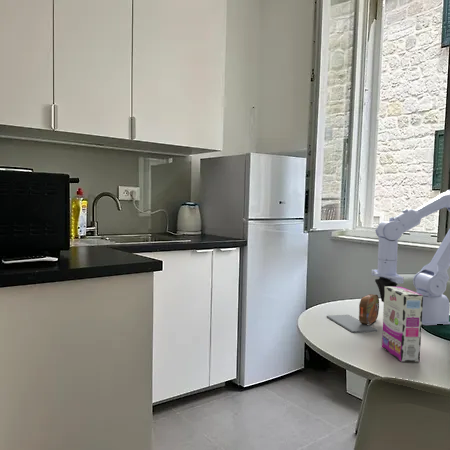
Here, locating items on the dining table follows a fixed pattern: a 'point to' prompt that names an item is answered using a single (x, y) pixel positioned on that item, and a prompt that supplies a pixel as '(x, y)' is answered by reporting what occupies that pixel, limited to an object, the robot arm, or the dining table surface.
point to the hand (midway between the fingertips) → (385, 301)
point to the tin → (368, 309)
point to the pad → (351, 323)
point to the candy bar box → (402, 323)
